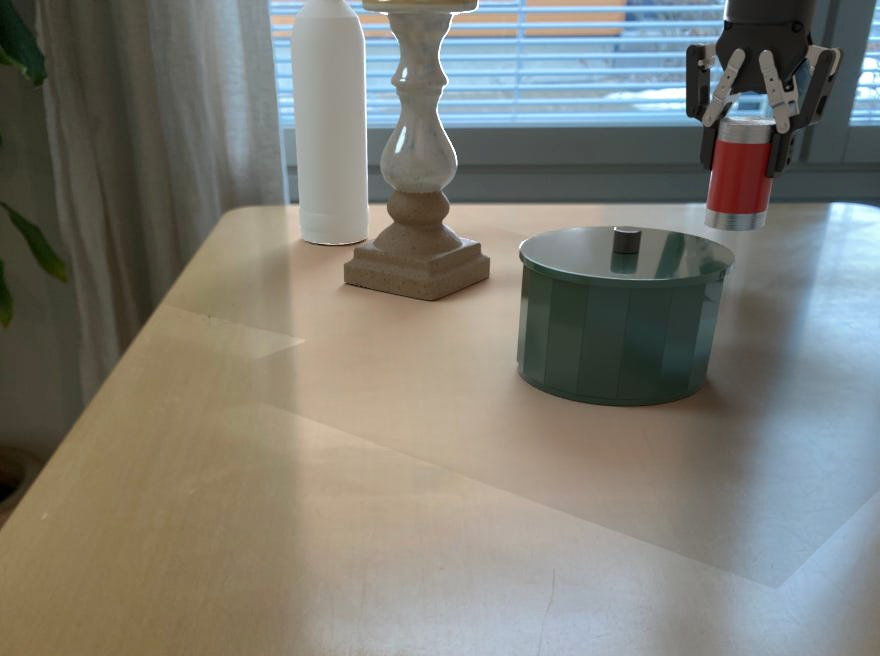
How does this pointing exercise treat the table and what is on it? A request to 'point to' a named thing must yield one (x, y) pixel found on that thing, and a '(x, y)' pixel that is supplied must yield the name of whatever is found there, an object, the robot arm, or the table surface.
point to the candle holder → (418, 169)
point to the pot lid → (626, 257)
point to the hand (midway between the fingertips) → (741, 172)
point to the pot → (615, 340)
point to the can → (740, 174)
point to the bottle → (330, 122)
